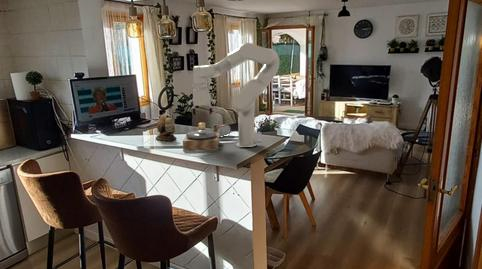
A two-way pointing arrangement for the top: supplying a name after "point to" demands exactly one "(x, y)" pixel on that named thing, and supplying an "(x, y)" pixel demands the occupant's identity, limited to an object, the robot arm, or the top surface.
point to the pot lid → (201, 133)
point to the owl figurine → (165, 129)
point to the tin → (222, 129)
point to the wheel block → (200, 144)
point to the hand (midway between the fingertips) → (202, 114)
